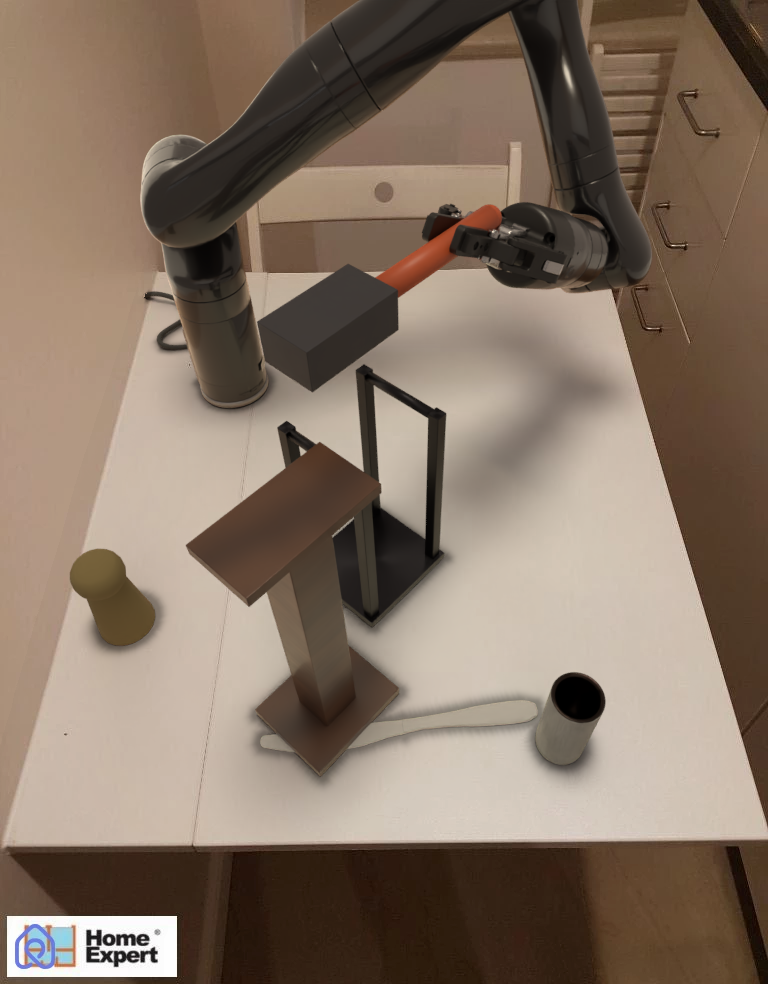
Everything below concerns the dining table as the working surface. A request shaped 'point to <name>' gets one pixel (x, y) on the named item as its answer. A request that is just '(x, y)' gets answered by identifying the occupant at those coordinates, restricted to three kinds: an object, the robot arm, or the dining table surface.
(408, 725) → the butter knife
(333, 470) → the wooden pedestal stand
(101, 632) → the olive pawn
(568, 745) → the planter
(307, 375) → the orange-handled mallet
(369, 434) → the black rack
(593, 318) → the dining table surface
